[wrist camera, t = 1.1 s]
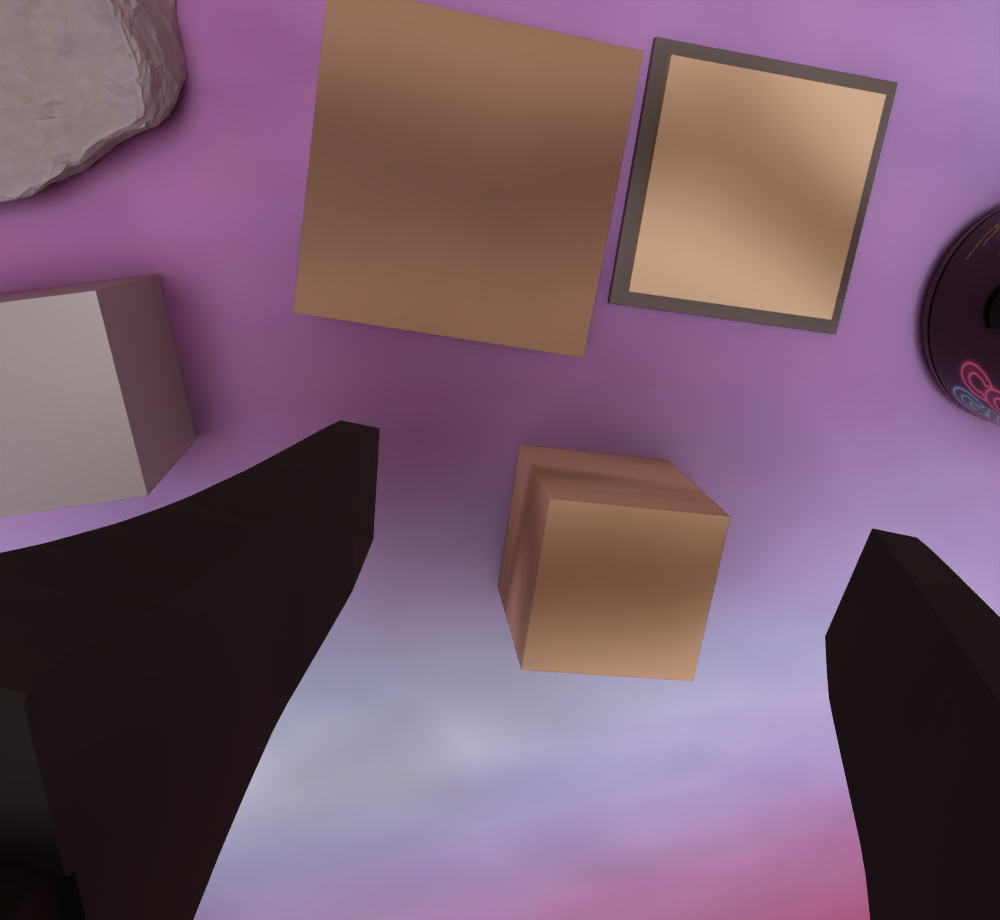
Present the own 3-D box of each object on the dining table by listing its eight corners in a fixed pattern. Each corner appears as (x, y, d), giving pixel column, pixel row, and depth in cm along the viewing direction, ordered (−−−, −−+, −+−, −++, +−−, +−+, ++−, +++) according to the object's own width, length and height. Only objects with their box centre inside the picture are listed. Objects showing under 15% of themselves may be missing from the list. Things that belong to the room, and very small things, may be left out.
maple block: (639, 596, 27) (693, 681, 22) (497, 585, 26) (521, 670, 21) (667, 459, 25) (730, 516, 21) (519, 443, 25) (549, 498, 20)
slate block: (196, 437, 24) (147, 495, 19) (29, 461, 23) (-65, 526, 18) (158, 273, 22) (95, 290, 18) (-20, 295, 22) (-134, 319, 17)
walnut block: (557, 337, 24) (583, 357, 21) (308, 298, 23) (293, 312, 20) (606, 75, 22) (643, 50, 19) (338, 18, 21) (328, -18, 18)
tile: (832, 333, 25) (841, 335, 24) (607, 302, 24) (612, 304, 23) (893, 84, 23) (904, 81, 23) (653, 38, 22) (659, 34, 22)
